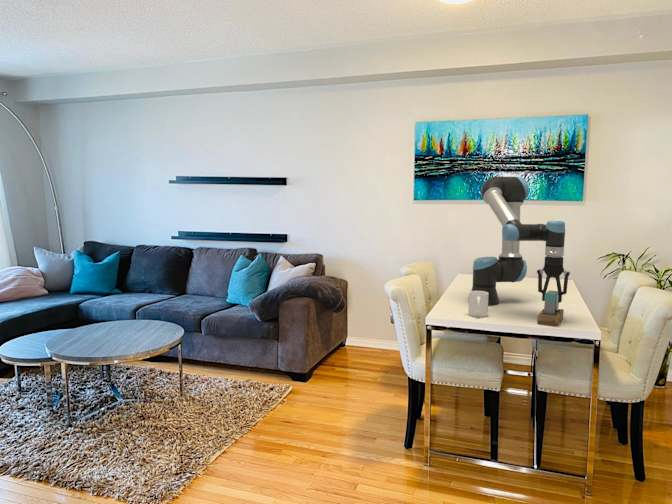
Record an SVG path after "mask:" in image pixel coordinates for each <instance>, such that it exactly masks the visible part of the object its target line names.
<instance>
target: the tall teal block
mask: <svg viewBox="0 0 672 504" xmlns="http://www.w3.org/2000/svg"><path fill="white" fill-rule="evenodd" d="M557 294H558V290H551V289H549V290H547V291H546V294H545V301H544V304H545V312H544V314H546V315H555V312H558V310H556V297H557Z"/></svg>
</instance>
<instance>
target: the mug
mask: <svg viewBox="0 0 672 504" xmlns="http://www.w3.org/2000/svg"><path fill="white" fill-rule="evenodd" d="M488 295H489V293H488V292H485V291H471V290H470V291H469V292H468V300H469V301H468V315H469V316H471V317H473V316H474V317H475V318H486V317H487V316H488V313H489V311H488V310H489V305H488ZM474 317H473V318H474Z"/></svg>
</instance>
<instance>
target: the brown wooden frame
mask: <svg viewBox="0 0 672 504" xmlns="http://www.w3.org/2000/svg"><path fill="white" fill-rule="evenodd" d="M564 311H565V310H564V309H563V308H561V309H560V308H559V309H558V312H555V315H546V314H544V312H545V309H544V308H543V309H542V310H541V311H540V312H539V313H538V314H537V321H536V324H537V325H542V326H549V327H550V326H551V327H558V326H559V325H560V324H561V322H562V321H563V319H564Z"/></svg>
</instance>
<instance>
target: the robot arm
mask: <svg viewBox="0 0 672 504" xmlns="http://www.w3.org/2000/svg"><path fill="white" fill-rule="evenodd" d="M529 193H530V192H529V185H528V182H527V180H526V179H525V178H524V177H521V176H491V177H489V178H488V179H486V180H485V181H484V183H483V184H482V186H481V189H480V196H481V197H482V200H483V201H484V203H485V204H487V205H489V207H490V209H491V210H492V212H493V214H494V215H495V216H496V218H497V219H498V221H499V223H500V224H501V226H502V227H501V228H502V229H501V253H500V254H499V255H498V257H496V256H483V257H482V256H481V257H477V258H475V259H474V260H473V265H472V288H471V290H470V291H485V292H488V293H489V295H488V306H496V305H499V303H500V298H499V294H498V292H497V283H520V282H521V281H523V280H524V279H525V277H526V276H527V271H528V265H527V261H526V260H525V259H523V255H522V254H521V253H520V245H521V244H520V242H525V241H527V242H538V241H539V242H545V248H544V249H545V250H544V255H545V256H544V265H543V267H542V268H541V269H537V270H536V273H537V275H538V277H537V291H538V293H541V295H542V297H541V300H542V301H543V302H545V294H546V293H547V292H548V290H547V289H548V287H549V283H550V280H551V278H554V279H555V282H556V288H557V291H558V294H557V297H556V310H558V309H560V308H559V306H560V303H562V299H563V296H564V295H566V294H567V293H568V284H569V283H568V281H569V276H570V274H571V272H570V271H568V270H565V268H564V257H563V256H565V236H566V222H565V221H563V220H548V221H547V222H546V224H545V223H535V224H533V223H530V224H529V223H525V224H523V223H521V206H522V205H523V204H524V202H525V201H524V200H526V199H527V198H528V195H529ZM543 274H545V275H546V278H545V281H544V285H543ZM562 274H563V276H564V280H563V286H562V285H561V284H562V283H561V275H562ZM562 287H563V289H562ZM468 302H469V299H468ZM543 309H545V303H544V306H543Z"/></svg>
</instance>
